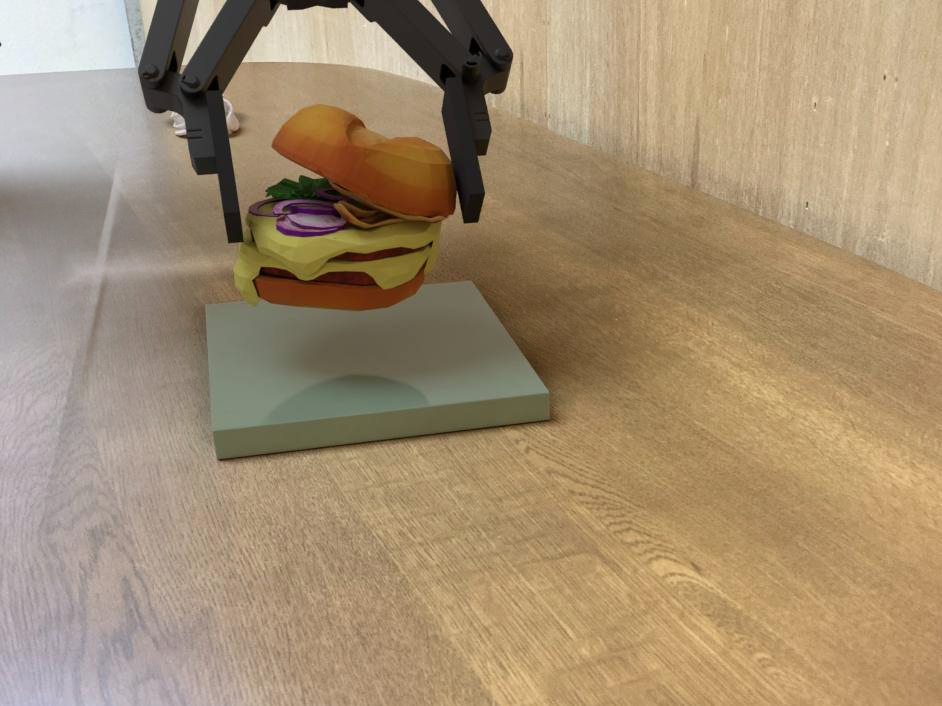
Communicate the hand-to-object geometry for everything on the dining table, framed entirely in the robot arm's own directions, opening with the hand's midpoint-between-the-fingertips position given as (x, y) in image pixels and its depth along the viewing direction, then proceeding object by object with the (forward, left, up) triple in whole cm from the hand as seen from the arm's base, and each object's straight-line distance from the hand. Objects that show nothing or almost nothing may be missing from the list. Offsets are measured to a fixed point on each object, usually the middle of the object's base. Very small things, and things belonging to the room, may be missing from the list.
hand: (356, 218), depth 55 cm
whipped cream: (-71, -7, -9) cm, 72 cm away
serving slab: (-3, 0, -9) cm, 9 cm away
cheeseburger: (-3, 0, -5) cm, 5 cm away
